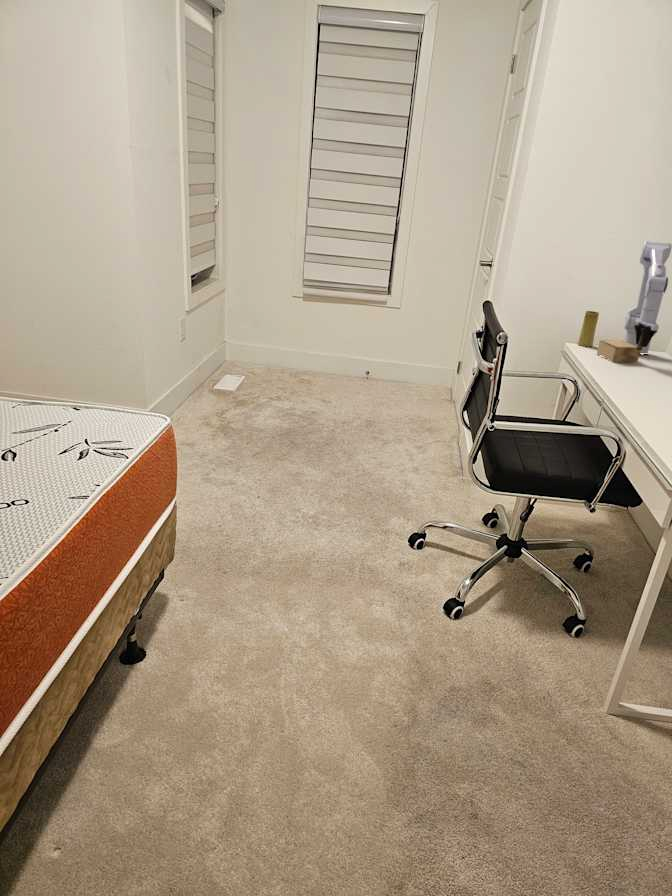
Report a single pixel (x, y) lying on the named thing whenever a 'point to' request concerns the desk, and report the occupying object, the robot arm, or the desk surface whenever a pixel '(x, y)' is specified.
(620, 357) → the wooden paddle
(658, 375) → the desk surface
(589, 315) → the vase
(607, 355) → the carton
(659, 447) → the desk surface
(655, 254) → the robot arm
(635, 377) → the desk surface
